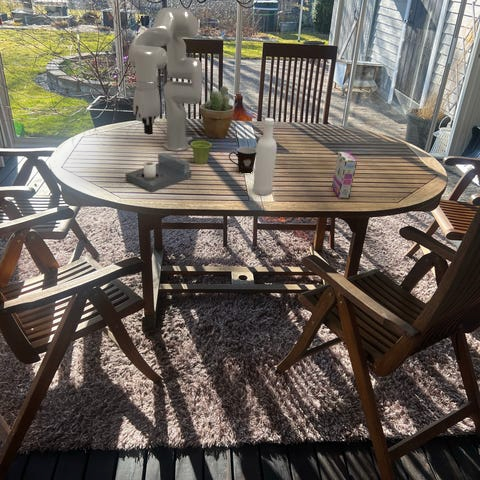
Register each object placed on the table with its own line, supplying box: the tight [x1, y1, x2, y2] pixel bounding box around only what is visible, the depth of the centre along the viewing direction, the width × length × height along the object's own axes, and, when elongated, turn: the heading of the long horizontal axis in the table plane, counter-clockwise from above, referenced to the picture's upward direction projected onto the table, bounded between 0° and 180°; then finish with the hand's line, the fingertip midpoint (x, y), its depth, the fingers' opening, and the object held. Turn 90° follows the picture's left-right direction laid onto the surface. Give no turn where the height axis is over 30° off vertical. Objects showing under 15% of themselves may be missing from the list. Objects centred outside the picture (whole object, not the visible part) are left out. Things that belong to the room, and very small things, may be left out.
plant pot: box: [190, 140, 212, 165], centre depth 211 cm, size 9×9×9 cm
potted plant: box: [199, 85, 235, 139], centre depth 243 cm, size 18×19×25 cm
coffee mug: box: [228, 146, 257, 174], centre depth 204 cm, size 12×9×10 cm
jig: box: [125, 152, 192, 193], centre depth 190 cm, size 22×16×7 cm
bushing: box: [143, 161, 157, 179], centre depth 187 cm, size 5×5×8 cm
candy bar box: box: [331, 151, 358, 199], centre depth 188 cm, size 11×5×16 cm, turn 5°
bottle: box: [252, 117, 278, 196], centre depth 181 cm, size 8×8×30 cm
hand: (148, 133), depth 179 cm, fingers closed
